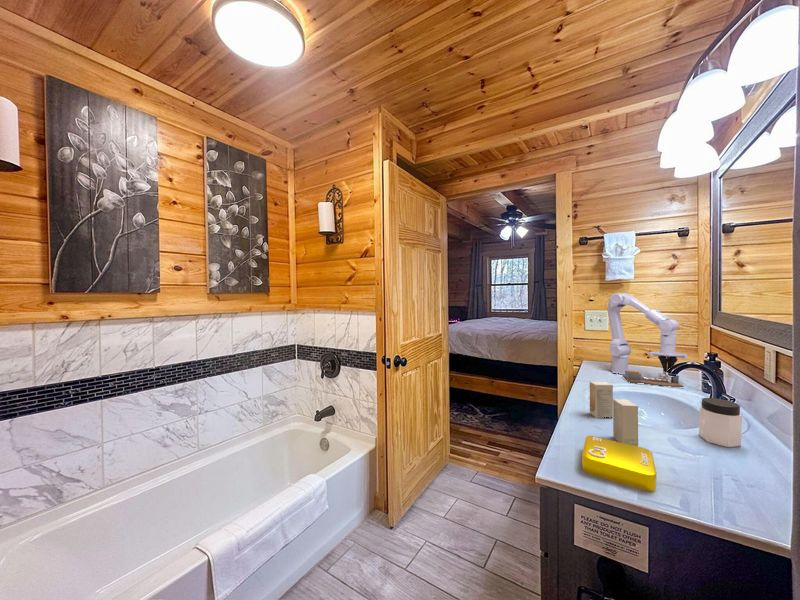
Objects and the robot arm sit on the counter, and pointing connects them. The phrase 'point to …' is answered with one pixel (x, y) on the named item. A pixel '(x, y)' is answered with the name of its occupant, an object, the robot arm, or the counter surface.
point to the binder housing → (633, 375)
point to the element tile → (619, 462)
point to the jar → (720, 422)
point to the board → (654, 382)
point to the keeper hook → (673, 379)
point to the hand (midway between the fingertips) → (667, 371)
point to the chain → (659, 378)
